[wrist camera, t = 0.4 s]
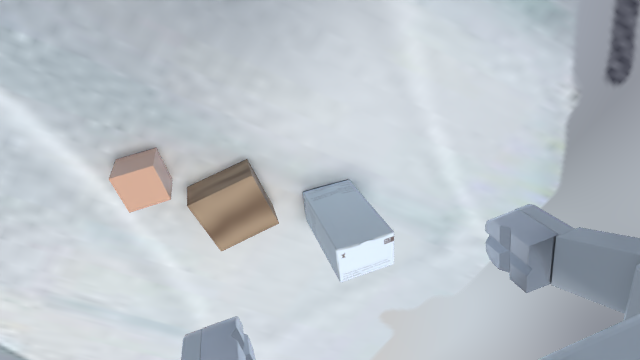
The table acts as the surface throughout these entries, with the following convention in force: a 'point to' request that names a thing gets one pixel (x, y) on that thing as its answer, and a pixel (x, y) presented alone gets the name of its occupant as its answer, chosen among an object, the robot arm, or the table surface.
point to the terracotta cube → (141, 180)
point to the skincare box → (349, 230)
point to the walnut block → (231, 205)
